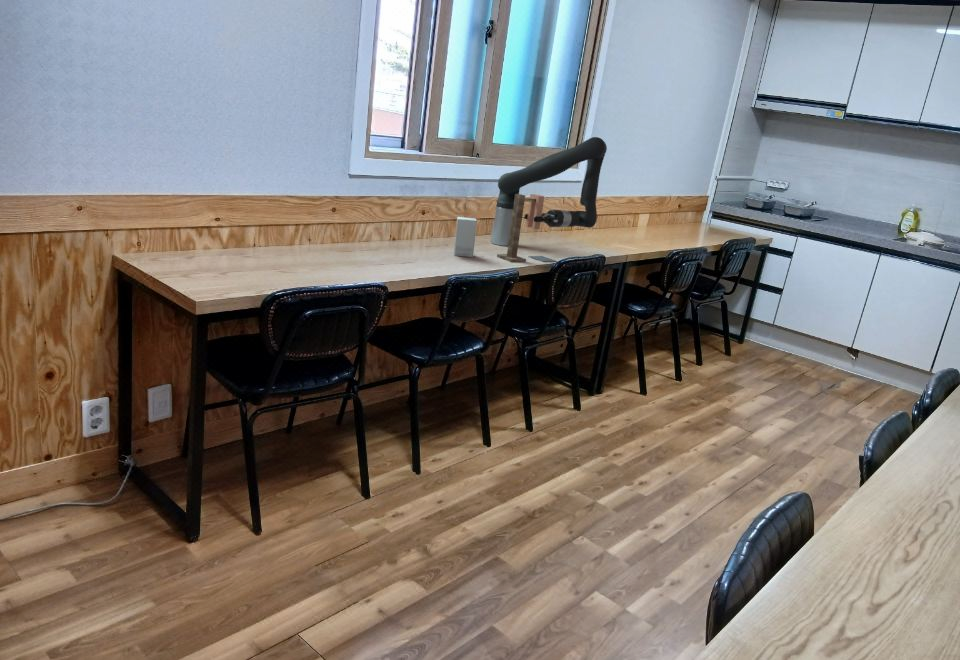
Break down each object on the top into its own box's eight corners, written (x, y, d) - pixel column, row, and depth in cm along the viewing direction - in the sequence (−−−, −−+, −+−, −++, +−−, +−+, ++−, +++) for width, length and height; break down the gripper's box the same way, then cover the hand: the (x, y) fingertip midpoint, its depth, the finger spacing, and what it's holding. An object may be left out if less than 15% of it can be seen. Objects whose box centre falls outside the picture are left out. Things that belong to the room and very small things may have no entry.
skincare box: (472, 254, 315) (477, 218, 311) (473, 257, 309) (477, 220, 305) (453, 252, 315) (457, 216, 310) (453, 255, 308) (457, 218, 304)
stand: (496, 256, 318) (505, 192, 310) (526, 256, 328) (535, 193, 321) (511, 262, 310) (520, 196, 303) (541, 261, 321) (551, 197, 313)
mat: (528, 256, 327) (528, 256, 327) (541, 256, 332) (541, 255, 332) (543, 262, 320) (543, 261, 320) (556, 261, 325) (556, 260, 325)
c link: (525, 226, 320) (530, 194, 316) (531, 226, 322) (535, 194, 318) (534, 229, 316) (539, 196, 312) (539, 229, 317) (544, 196, 313)
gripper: (549, 207, 330) (520, 206, 320) (571, 212, 320) (542, 211, 309) (546, 223, 332) (517, 223, 322) (568, 230, 322) (539, 229, 311)
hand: (529, 217), depth 316 cm, fingers closed on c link, 5 cm apart
